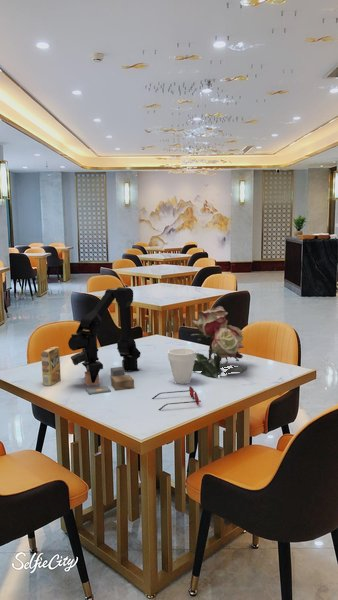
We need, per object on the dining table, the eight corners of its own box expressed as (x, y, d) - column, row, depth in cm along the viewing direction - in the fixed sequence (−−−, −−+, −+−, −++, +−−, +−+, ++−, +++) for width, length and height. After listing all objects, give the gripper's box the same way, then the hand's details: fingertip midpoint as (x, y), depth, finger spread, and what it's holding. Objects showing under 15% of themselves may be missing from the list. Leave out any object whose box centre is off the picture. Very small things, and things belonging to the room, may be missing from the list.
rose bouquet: (223, 381, 224) (223, 313, 220) (178, 368, 246) (178, 306, 242) (261, 370, 241) (261, 307, 237) (215, 359, 263) (215, 301, 259)
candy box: (51, 386, 221) (49, 351, 219) (42, 385, 222) (40, 350, 220) (61, 380, 229) (59, 346, 227) (52, 379, 231) (51, 346, 228)
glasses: (201, 408, 193) (201, 395, 192) (157, 411, 189) (157, 398, 189) (192, 396, 206) (191, 384, 206) (151, 399, 203) (151, 387, 202)
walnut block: (129, 383, 224) (129, 374, 223) (134, 388, 217) (133, 379, 216) (111, 385, 222) (111, 376, 221) (115, 391, 214) (115, 381, 213)
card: (107, 387, 218) (107, 385, 217) (110, 391, 212) (110, 389, 212) (86, 390, 214) (86, 388, 214) (89, 394, 209) (89, 392, 209)
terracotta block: (96, 381, 227) (95, 370, 227) (98, 384, 223) (98, 373, 222) (84, 382, 226) (84, 371, 225) (87, 385, 221) (87, 374, 220)
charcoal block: (121, 377, 233) (121, 366, 232) (124, 380, 228) (124, 369, 227) (110, 378, 231) (110, 368, 230) (113, 381, 226) (113, 370, 226)
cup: (181, 376, 233) (181, 346, 231) (202, 381, 225) (202, 350, 223) (162, 381, 225) (161, 351, 223) (182, 387, 216) (182, 356, 214)
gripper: (67, 343, 228) (69, 377, 230) (76, 352, 210) (77, 389, 213) (92, 341, 232) (93, 374, 234) (102, 349, 214) (104, 386, 217)
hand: (91, 380), depth 224 cm, fingers open, 5 cm apart
